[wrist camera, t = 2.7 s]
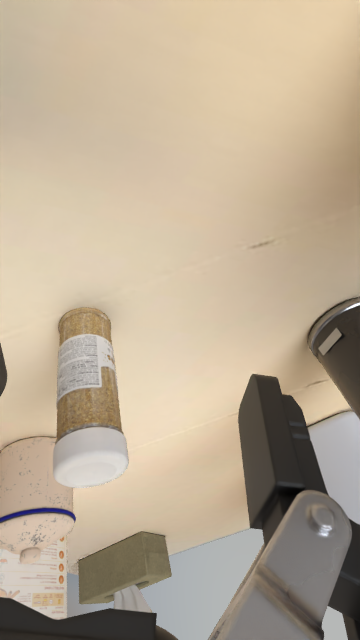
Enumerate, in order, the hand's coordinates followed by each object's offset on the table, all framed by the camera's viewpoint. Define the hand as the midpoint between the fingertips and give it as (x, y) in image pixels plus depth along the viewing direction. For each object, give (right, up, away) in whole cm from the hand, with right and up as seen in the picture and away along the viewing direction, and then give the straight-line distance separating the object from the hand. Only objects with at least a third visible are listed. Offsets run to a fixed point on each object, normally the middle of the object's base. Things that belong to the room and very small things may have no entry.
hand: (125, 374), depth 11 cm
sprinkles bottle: (-7, +1, +19) cm, 21 cm away
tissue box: (-12, -52, +69) cm, 87 cm away
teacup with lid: (-16, -16, +33) cm, 40 cm away
